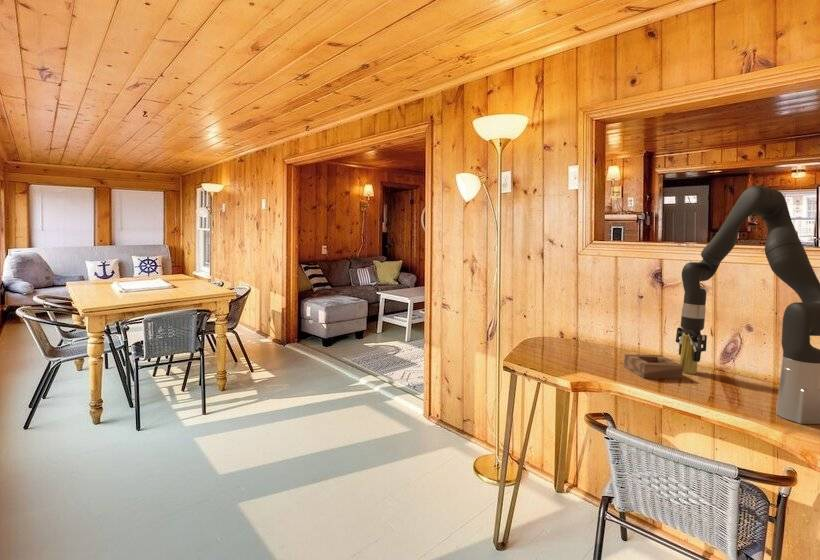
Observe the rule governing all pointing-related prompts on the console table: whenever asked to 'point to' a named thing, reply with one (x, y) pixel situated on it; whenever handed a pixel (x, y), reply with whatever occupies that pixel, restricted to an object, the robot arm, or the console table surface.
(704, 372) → the console table surface
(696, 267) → the robot arm
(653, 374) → the bore block
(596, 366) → the console table surface
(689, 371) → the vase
